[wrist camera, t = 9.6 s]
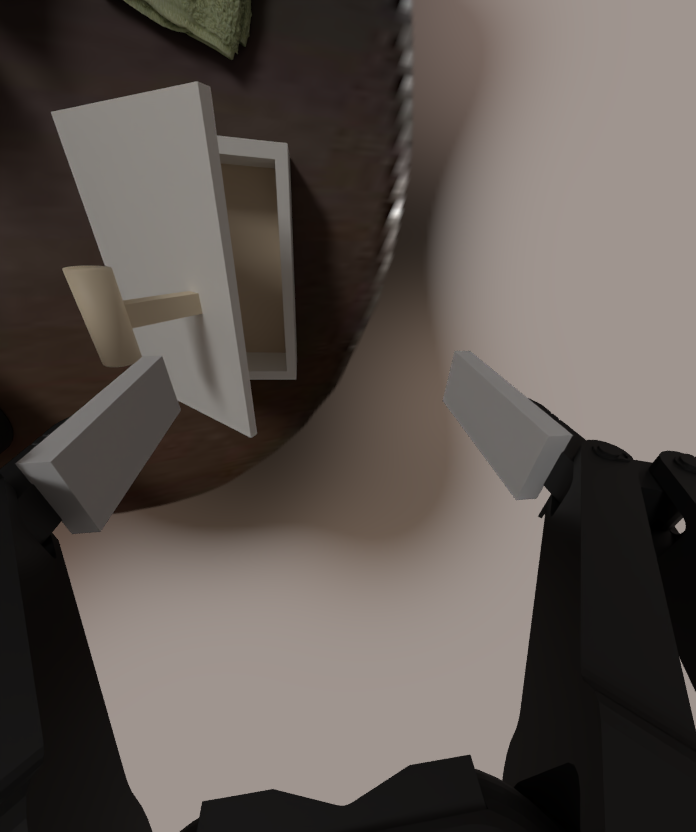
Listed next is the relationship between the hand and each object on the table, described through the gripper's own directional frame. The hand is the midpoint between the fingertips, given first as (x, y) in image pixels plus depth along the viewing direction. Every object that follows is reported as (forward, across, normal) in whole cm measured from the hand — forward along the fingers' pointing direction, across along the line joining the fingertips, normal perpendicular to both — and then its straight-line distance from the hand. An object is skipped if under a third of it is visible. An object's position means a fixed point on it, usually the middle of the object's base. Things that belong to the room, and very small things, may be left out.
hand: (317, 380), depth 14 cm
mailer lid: (+18, -13, 0) cm, 22 cm away
